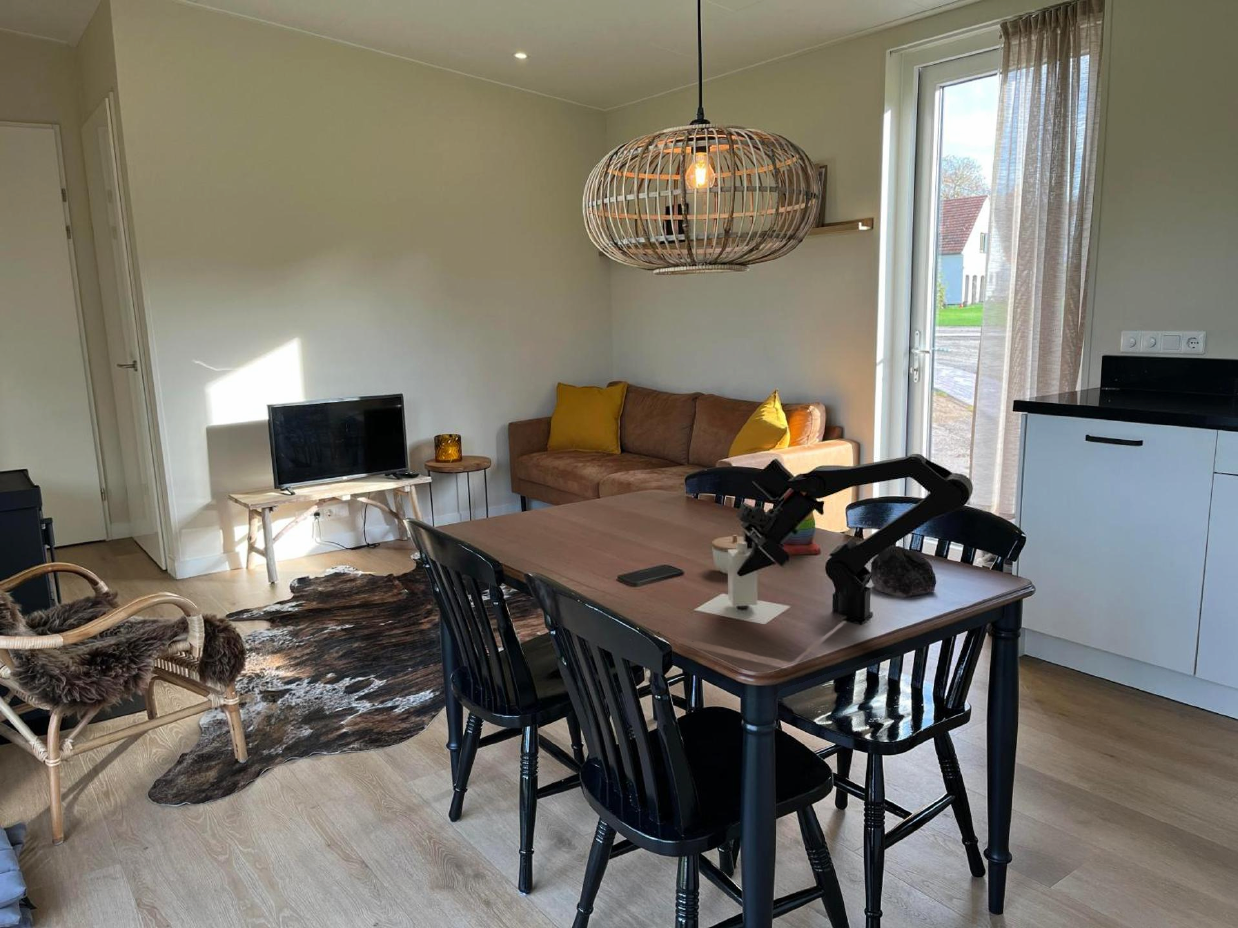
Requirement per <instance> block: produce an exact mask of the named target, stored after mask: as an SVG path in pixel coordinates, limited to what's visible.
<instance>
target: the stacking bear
mask: <svg viewBox="0 0 1238 928" xmlns="http://www.w3.org/2000/svg"><path fill="white" fill-rule="evenodd" d="M793 491H794V490H792V489H791V490H790V491H789V492H788V493H787V494H786V495H785V496H784V497H783V498H784V500H785V499H786V498H787V497H788V496H789V495H790V494H791V493H792V492H793ZM801 493H802V494H803V495H804V494H806V493H805V492H801ZM814 515H815V514H814V511H813V512H812V513H811V514H810V515H809V516H808V517H807V518H806V519H805V520H804V521H803V522H802V523H801V524H800V525H799V524H798V525H799V526H798V527H797V529H796V530H797V531H798V532H797V533H796V534H795V535H794V534H793V533H792V534H791V535H790V536H789V537H788V538H787V539H786V540H785V541H784V542H783V543H782V545H783V546H784V547H783V549H784V550H785V551H786V552H787V553H788V554H789V556H793V555H801V554H802V555H803V554H805V555H818V554H820V553H821V552H822V550H821V547H820V546H819V545H818V544H817V543H816V542H814V536H815V533H816V532H815V531H816V520H815V517H814Z"/></svg>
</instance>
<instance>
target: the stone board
mask: <svg viewBox="0 0 1238 928" xmlns="http://www.w3.org/2000/svg"><path fill="white" fill-rule="evenodd" d="M790 608H791V605H785V604H781V603H780V604H779V603H775V602H774V603H773V602H771V601H770V602H769V601H766V600H765V601H764V600H758V599H757V605H748V609H747V610H739V609H737V606H733V605H732V604H731V602H730V600H729V599H728V593H721V594H719V595H718V596H716V597H714V598H712V599H711V600H709V601H707V602H705V603H703V604H702V605H700V606H699V607H696V608H694V611H696V612H701V613H708V614H712V615H717V616H722V617H727V618H731V619H736V620H742V621H746V622H750V623H751V622H752V623H757V624H761V625H766V624H768V623H769V622H770V621H772V620H773V619H775V618H776V617H778V616H779V615H780V614H782V613H784V612H785V611H786V610H788V609H790Z"/></svg>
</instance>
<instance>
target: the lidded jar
mask: <svg viewBox="0 0 1238 928" xmlns="http://www.w3.org/2000/svg"><path fill="white" fill-rule="evenodd" d="M741 541H743V542H744V539H743V536H738V535H737V534H733V535H732V536H730V535H729V536H724V537H723V536H722V537H718V538H716V539H714V540H713V541H712V542H711V547H712V556H713V557H712V558H713V562H714V564H715V566H716V568H717V569H718V571H719V572H721V573H724V574H726V575H728V550H730V549H737V542H741Z"/></svg>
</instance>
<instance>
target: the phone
mask: <svg viewBox="0 0 1238 928" xmlns="http://www.w3.org/2000/svg"><path fill="white" fill-rule="evenodd" d="M684 575H685V571H684V570H683V569H680V568H678V567H675V566H673V565H670V564H660V565H658V566H653V567H649V568H643V569H639V570H636V571H631V572H625V573H622V574H619V575H617V577H616V578H617V580H618V581H619V582H622V583H623V584H624V583H625V584H627V585H629V586H631V587H641V586H643V585H644V586H645V585H647V584H648V585H649V584H653V583H656V582H661V581H665V580H669V579H673V578H677V577H681V576H684Z"/></svg>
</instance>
